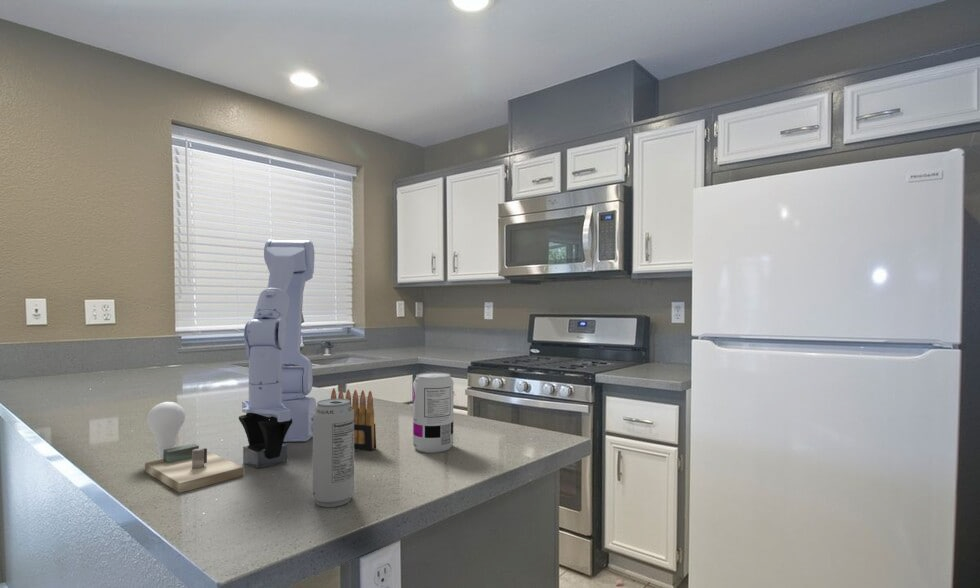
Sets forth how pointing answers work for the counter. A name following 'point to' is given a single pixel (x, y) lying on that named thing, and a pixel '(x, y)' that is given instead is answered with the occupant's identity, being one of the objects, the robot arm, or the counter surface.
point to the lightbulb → (165, 424)
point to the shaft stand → (191, 468)
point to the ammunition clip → (361, 419)
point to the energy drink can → (333, 452)
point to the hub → (261, 456)
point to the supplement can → (433, 412)
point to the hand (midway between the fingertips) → (265, 454)
